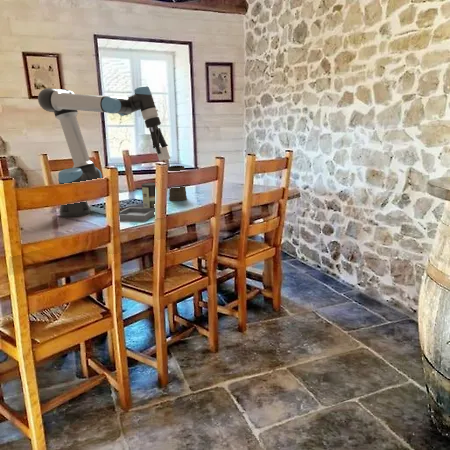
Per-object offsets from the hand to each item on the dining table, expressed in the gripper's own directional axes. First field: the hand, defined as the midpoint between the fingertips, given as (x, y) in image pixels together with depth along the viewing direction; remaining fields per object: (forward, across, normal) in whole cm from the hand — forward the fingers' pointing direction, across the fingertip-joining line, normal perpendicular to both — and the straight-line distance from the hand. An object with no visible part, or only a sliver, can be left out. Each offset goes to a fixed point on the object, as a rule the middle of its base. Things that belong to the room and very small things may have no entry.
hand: (165, 159), depth 198 cm
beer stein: (+24, +36, +8) cm, 44 cm away
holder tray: (+23, -9, +21) cm, 32 cm away
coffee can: (+23, +7, +16) cm, 29 cm away
